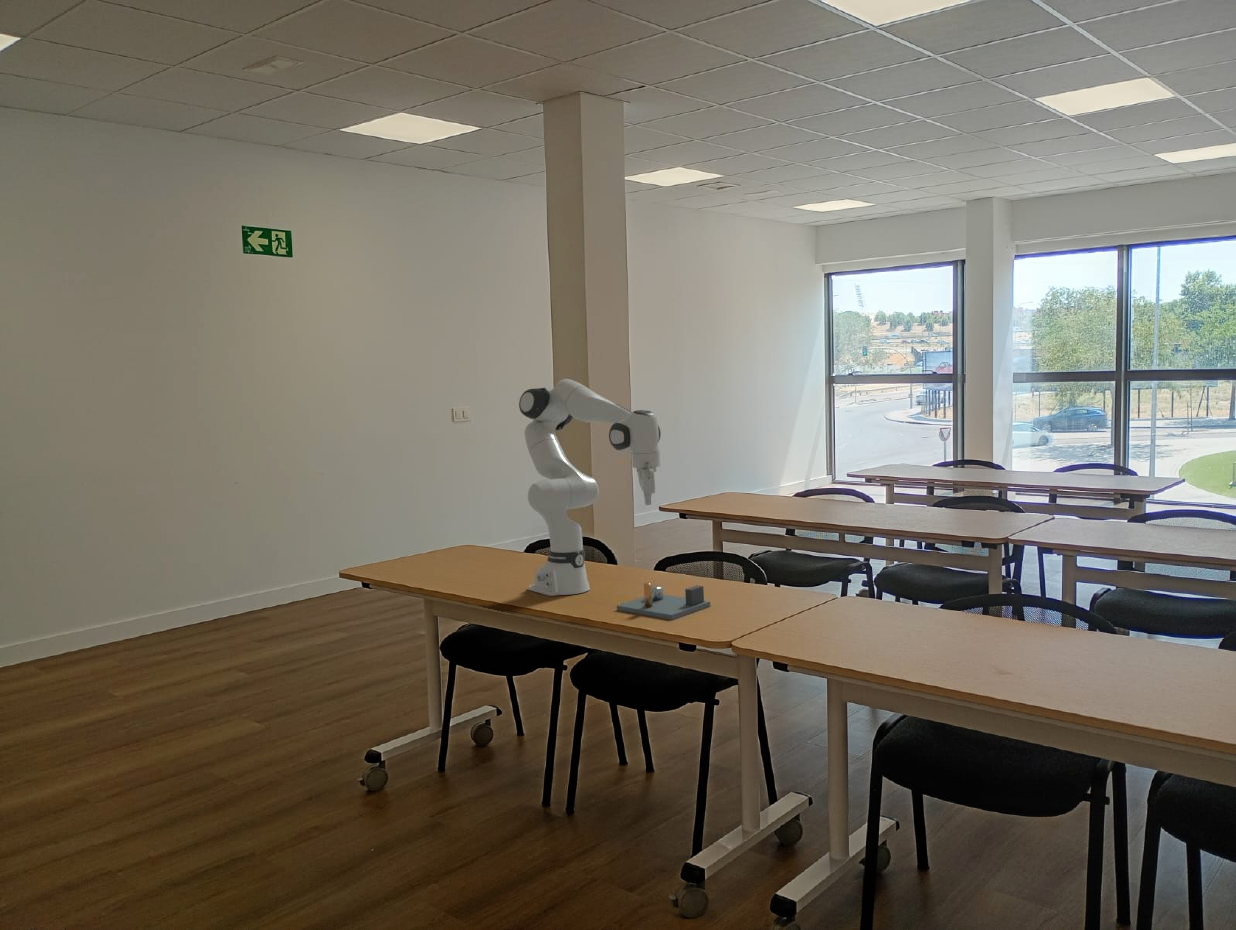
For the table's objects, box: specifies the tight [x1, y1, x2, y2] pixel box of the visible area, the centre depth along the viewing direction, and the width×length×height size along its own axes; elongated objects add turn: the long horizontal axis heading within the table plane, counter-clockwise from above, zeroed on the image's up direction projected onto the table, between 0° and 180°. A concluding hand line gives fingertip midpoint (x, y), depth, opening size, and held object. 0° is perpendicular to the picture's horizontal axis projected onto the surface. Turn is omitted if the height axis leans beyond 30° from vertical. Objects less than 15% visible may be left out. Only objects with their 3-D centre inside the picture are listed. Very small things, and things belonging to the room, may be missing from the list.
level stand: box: [616, 584, 711, 621], centre depth 296 cm, size 22×19×6 cm
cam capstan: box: [643, 582, 664, 607], centre depth 298 cm, size 14×5×7 cm, turn 165°
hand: (648, 504), depth 304 cm, fingers closed
